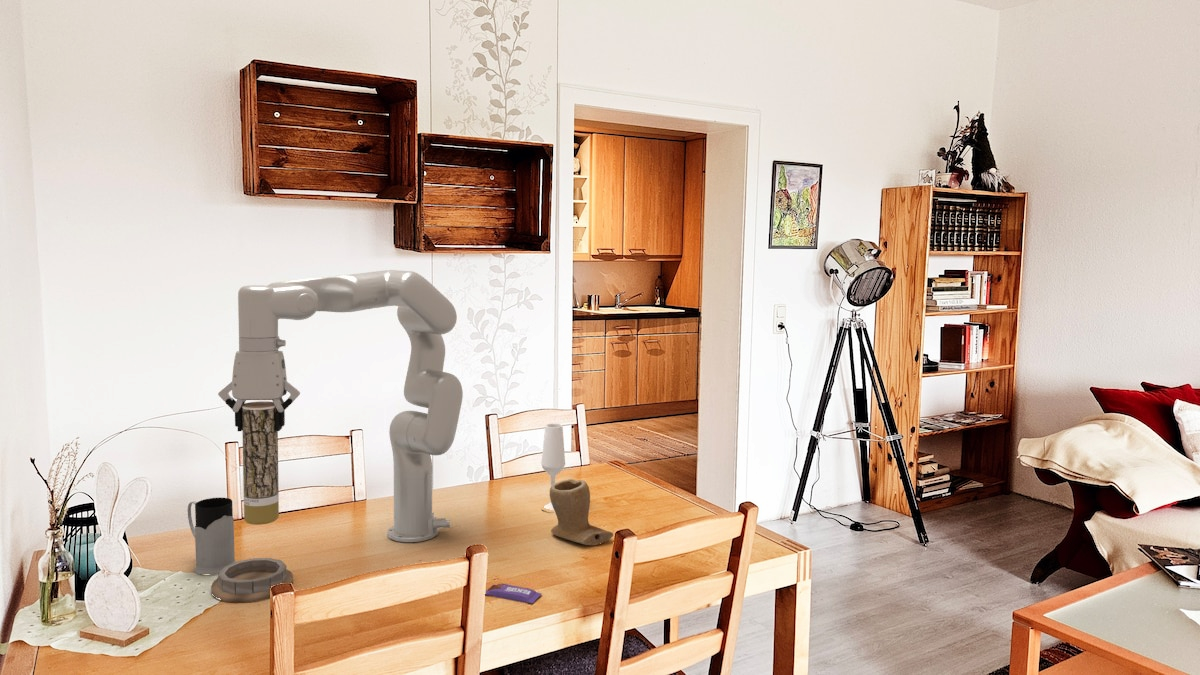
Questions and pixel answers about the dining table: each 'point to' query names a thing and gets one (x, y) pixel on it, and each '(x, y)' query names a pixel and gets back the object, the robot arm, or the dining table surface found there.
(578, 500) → the clay pipe bowl
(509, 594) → the snack package
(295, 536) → the dining table surface
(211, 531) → the glass holder
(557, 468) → the champagne flute
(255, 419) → the paper tube
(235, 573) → the roll stand
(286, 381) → the robot arm
